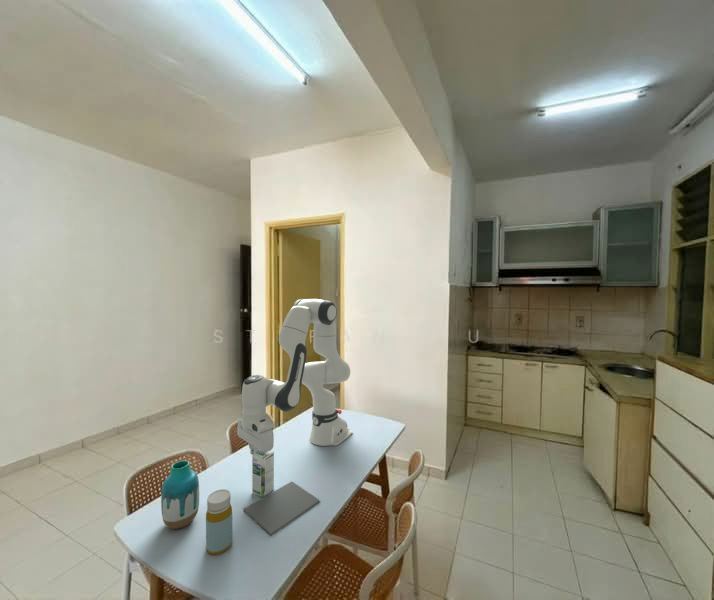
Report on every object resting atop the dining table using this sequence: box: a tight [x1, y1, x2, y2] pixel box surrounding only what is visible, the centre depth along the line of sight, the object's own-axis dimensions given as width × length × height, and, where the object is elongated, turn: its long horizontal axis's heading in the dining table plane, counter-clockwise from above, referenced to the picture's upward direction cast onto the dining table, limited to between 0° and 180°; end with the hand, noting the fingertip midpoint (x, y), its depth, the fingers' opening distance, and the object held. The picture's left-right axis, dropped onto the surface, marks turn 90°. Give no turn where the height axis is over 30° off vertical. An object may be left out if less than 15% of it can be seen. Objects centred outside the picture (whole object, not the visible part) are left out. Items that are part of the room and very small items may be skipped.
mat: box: [243, 481, 321, 536], centre depth 107 cm, size 20×16×1 cm
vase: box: [160, 459, 200, 530], centre depth 99 cm, size 11×11×19 cm
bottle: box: [205, 488, 233, 556], centre depth 91 cm, size 7×7×15 cm
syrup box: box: [251, 450, 275, 498], centre depth 115 cm, size 6×6×14 cm
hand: (254, 454), depth 119 cm, fingers closed
